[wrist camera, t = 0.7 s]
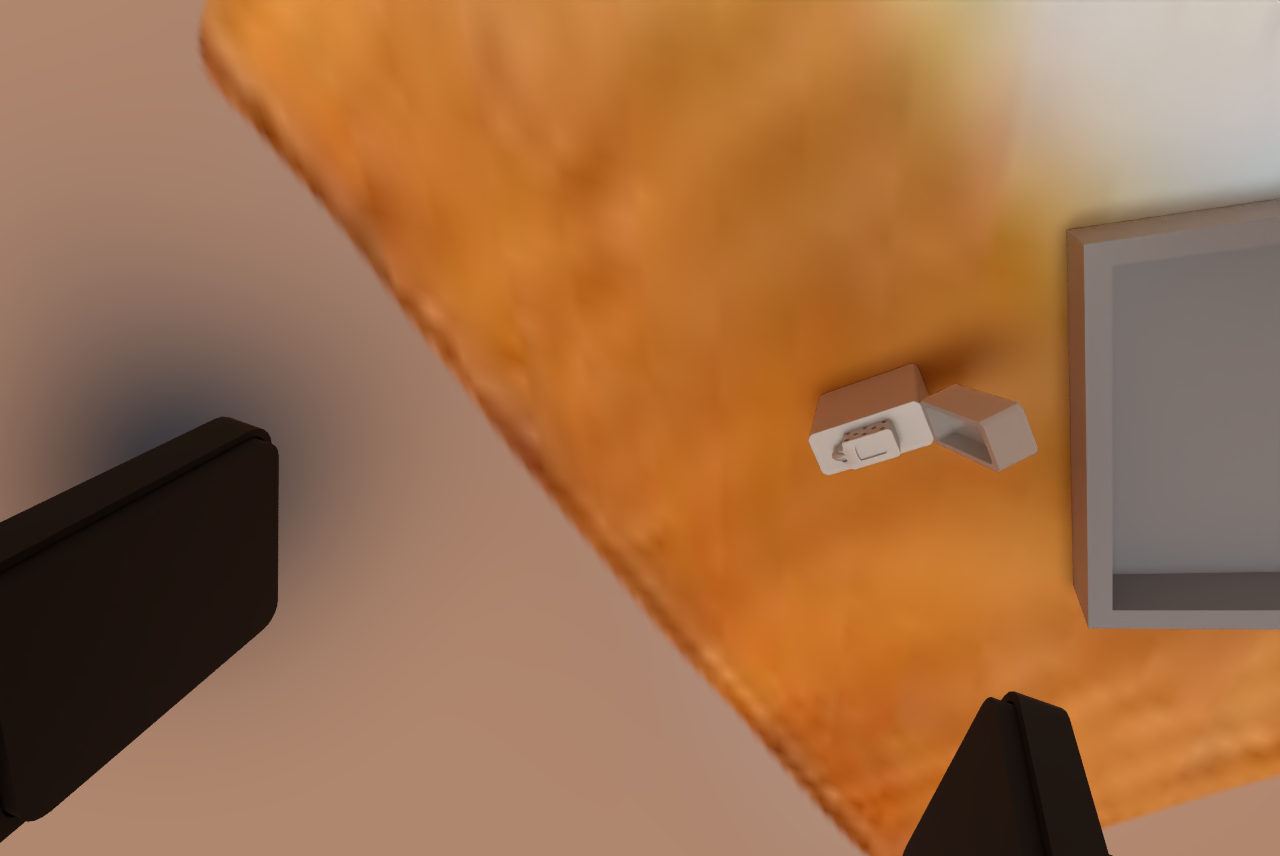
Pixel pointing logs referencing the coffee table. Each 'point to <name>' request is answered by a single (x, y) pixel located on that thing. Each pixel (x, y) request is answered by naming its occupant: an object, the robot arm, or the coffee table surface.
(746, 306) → the coffee table surface
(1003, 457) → the lighter
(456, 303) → the coffee table surface
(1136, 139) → the coffee table surface
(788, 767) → the coffee table surface
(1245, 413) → the tray
